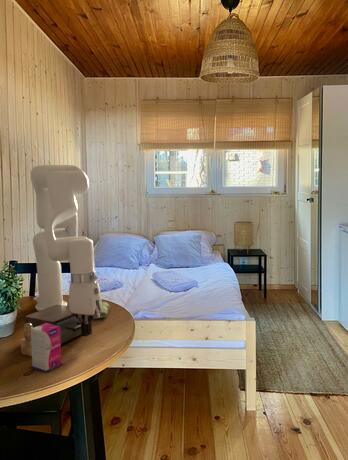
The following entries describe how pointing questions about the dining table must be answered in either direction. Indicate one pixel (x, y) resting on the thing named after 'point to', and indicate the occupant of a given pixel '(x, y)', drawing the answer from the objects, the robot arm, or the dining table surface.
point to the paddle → (27, 340)
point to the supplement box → (46, 347)
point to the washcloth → (104, 310)
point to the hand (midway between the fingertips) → (86, 334)
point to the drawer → (69, 328)
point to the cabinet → (49, 316)
